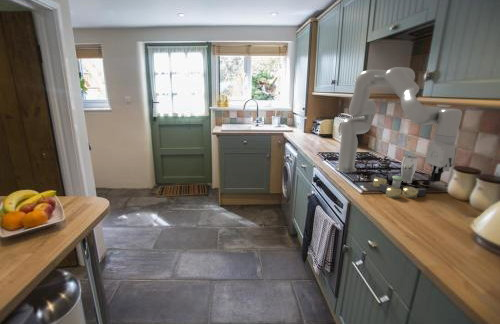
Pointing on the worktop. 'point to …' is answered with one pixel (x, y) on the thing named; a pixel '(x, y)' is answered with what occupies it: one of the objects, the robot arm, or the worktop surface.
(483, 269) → the worktop surface
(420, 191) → the knob
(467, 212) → the worktop surface
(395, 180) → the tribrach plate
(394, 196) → the knob
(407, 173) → the beer glass
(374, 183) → the knob left
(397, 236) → the worktop surface
